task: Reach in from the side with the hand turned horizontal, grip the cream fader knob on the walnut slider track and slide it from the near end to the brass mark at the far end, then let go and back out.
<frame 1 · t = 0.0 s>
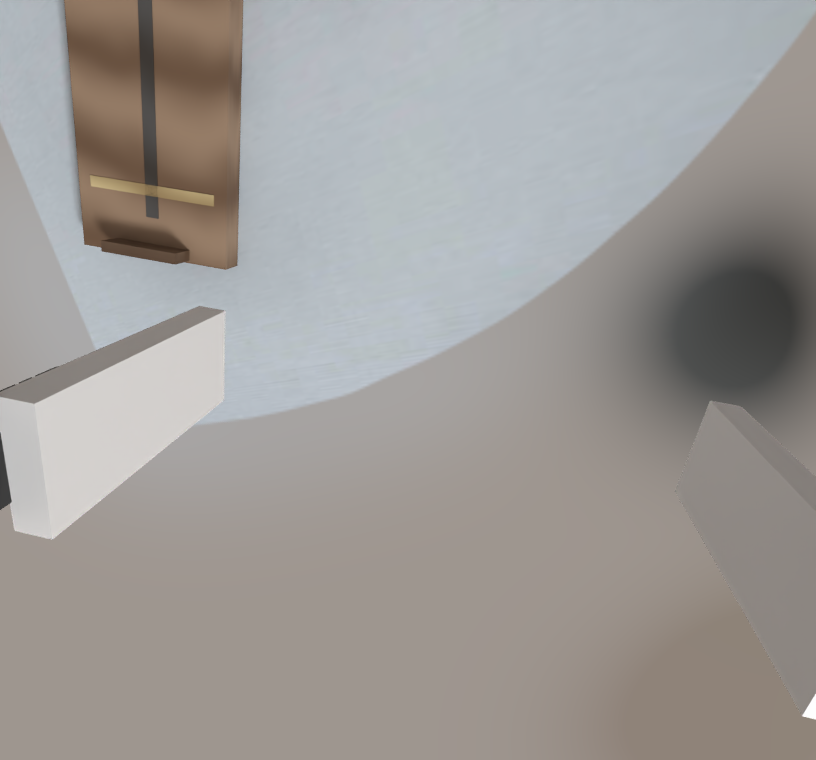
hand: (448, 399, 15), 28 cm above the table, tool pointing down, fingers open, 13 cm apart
fader track: (163, 60, 39), on the table
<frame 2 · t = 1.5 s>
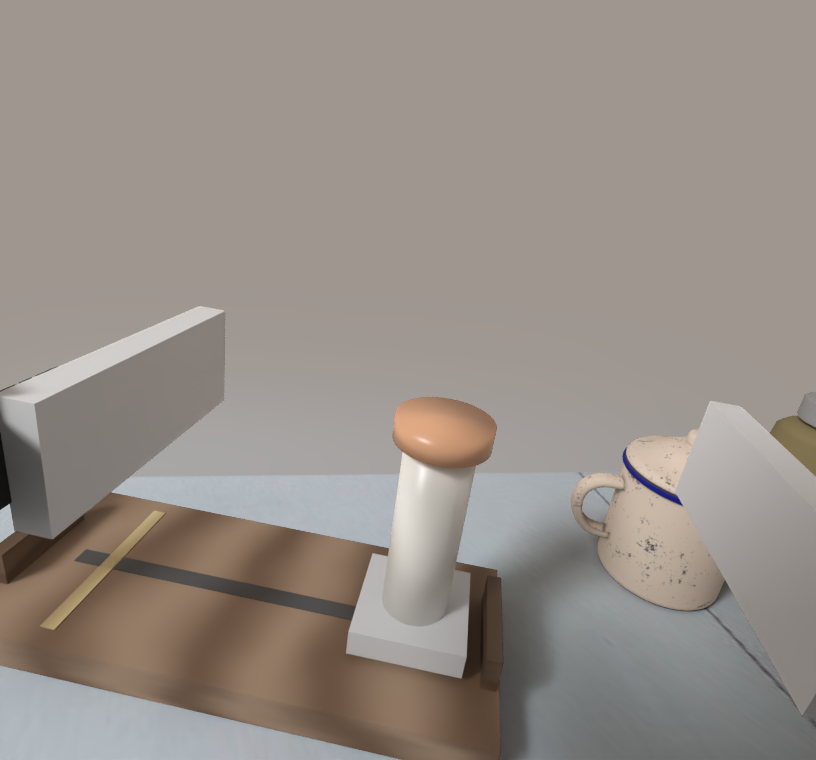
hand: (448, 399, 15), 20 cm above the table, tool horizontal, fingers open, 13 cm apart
fader: (427, 528, 28), point 9 cm above the table, slide at -9.0 cm
fader track: (256, 618, 32), on the table
teacup with lid: (634, 567, 41), on the table
squeeze bottle: (765, 569, 42), on the table
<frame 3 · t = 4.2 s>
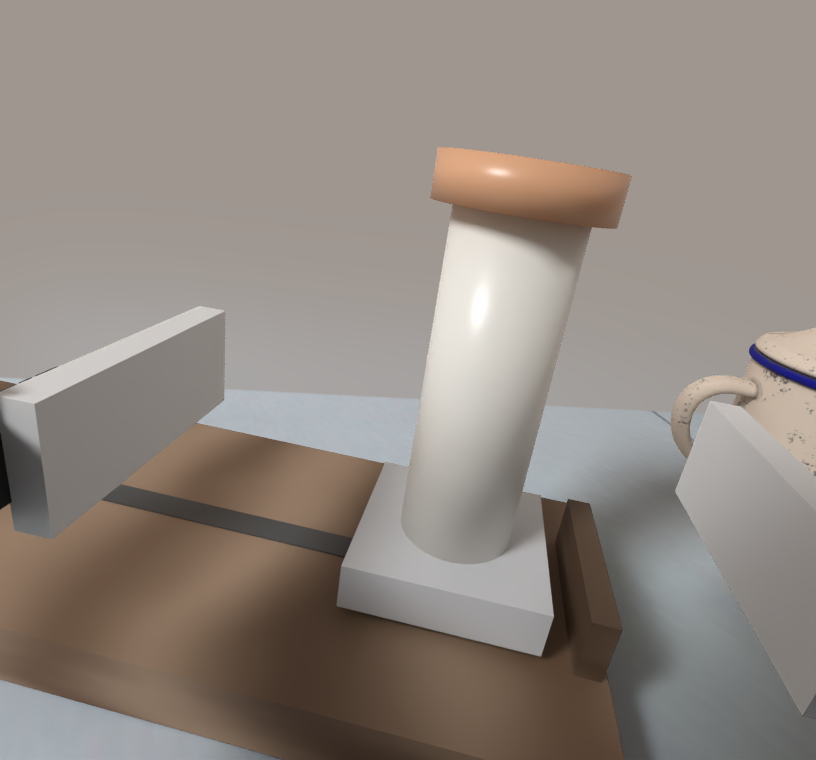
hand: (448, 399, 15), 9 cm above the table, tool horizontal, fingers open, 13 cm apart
fader: (483, 391, 16), point 9 cm above the table, slide at -9.0 cm
fader track: (199, 557, 20), on the table
teacup with lid: (756, 520, 28), on the table
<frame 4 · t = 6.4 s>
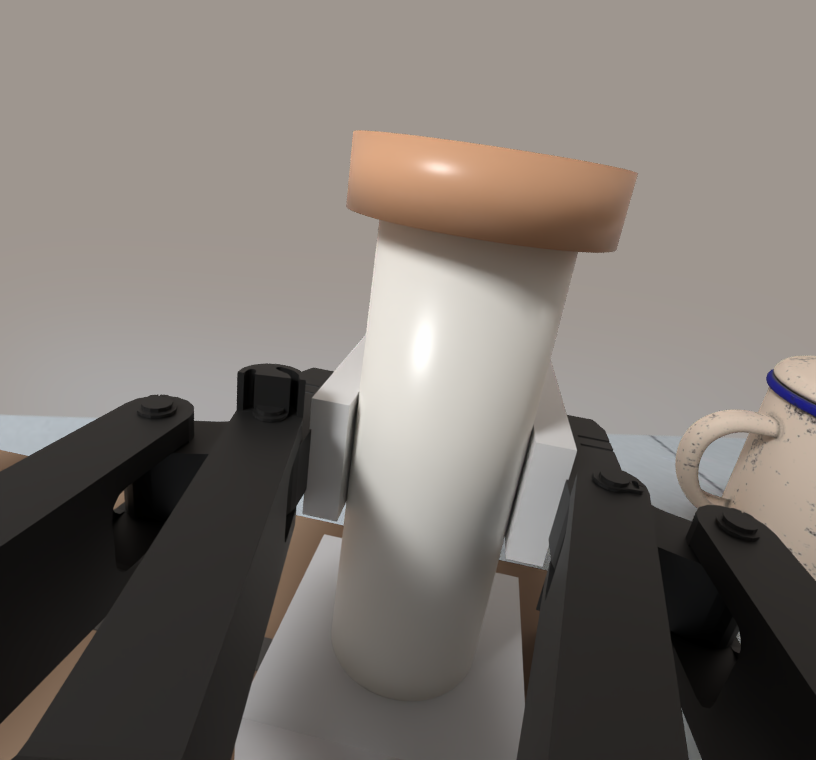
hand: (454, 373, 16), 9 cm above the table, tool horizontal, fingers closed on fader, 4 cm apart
fader: (434, 468, 12), point 9 cm above the table, slide at -9.0 cm, touching gripper
fader track: (85, 661, 16), on the table
teacup with lid: (774, 574, 24), on the table
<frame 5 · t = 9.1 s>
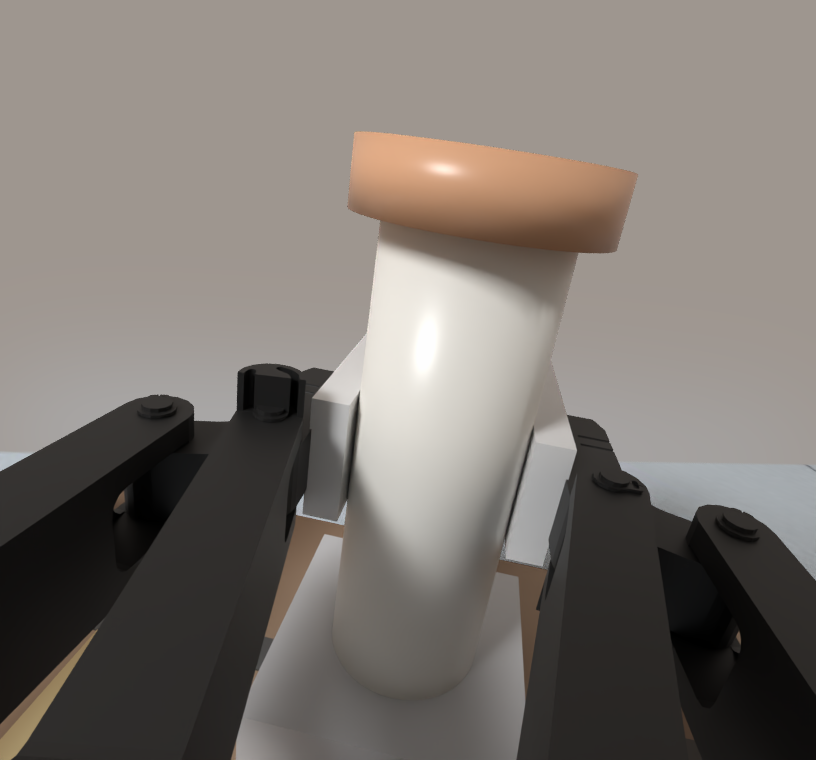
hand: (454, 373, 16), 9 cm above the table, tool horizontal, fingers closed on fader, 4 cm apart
fader: (434, 468, 12), point 9 cm above the table, slide at 1.3 cm, touching gripper
fader track: (430, 748, 15), on the table
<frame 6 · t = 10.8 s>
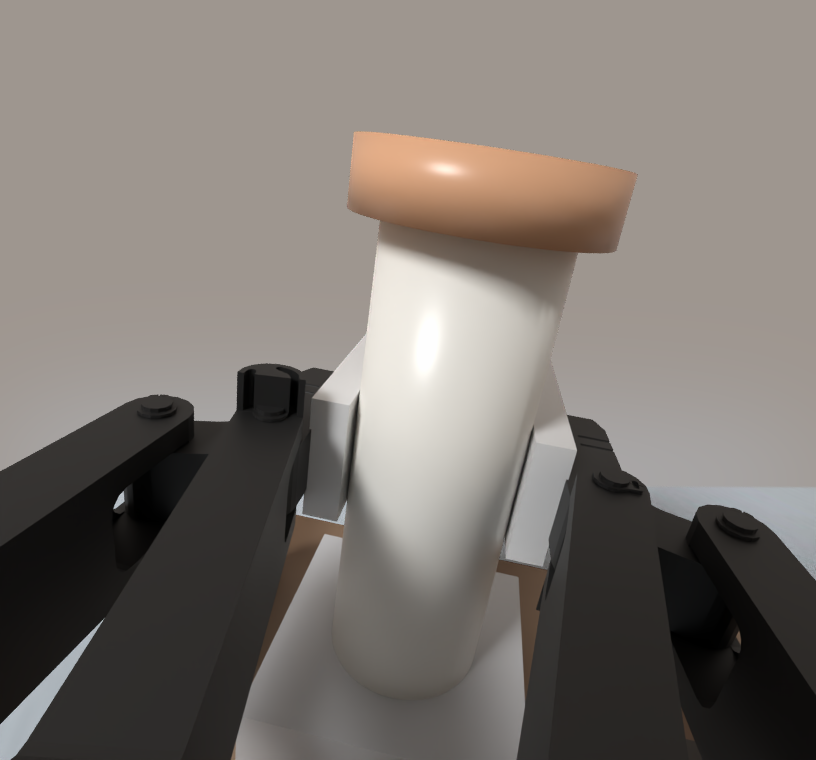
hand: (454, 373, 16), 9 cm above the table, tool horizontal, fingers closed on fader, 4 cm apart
fader: (434, 468, 12), point 9 cm above the table, slide at 8.6 cm, touching gripper
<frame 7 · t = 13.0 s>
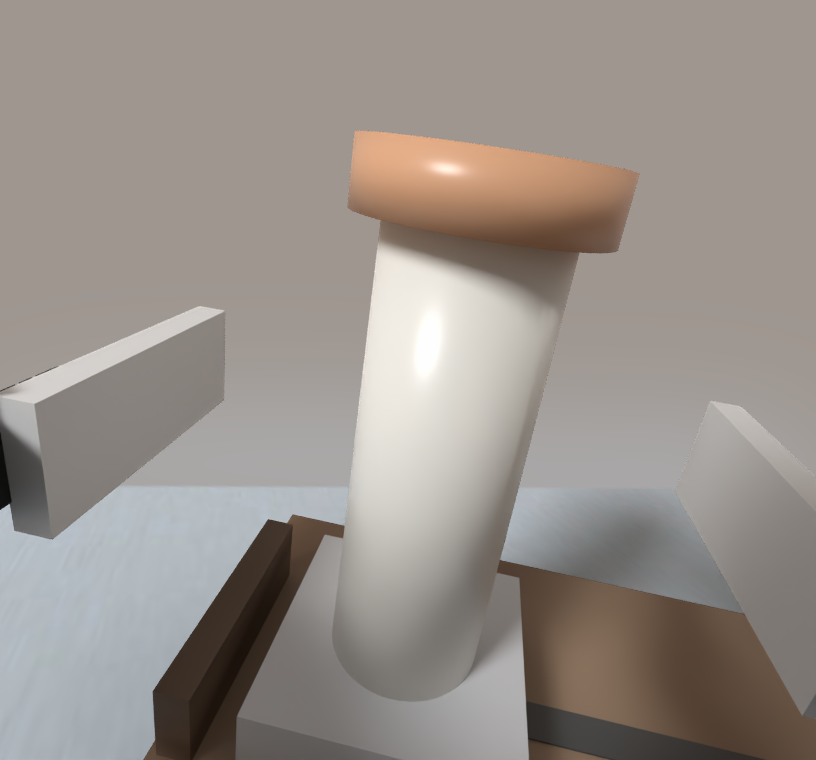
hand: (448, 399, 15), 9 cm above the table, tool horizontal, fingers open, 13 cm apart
fader: (435, 468, 12), point 9 cm above the table, slide at 9.0 cm
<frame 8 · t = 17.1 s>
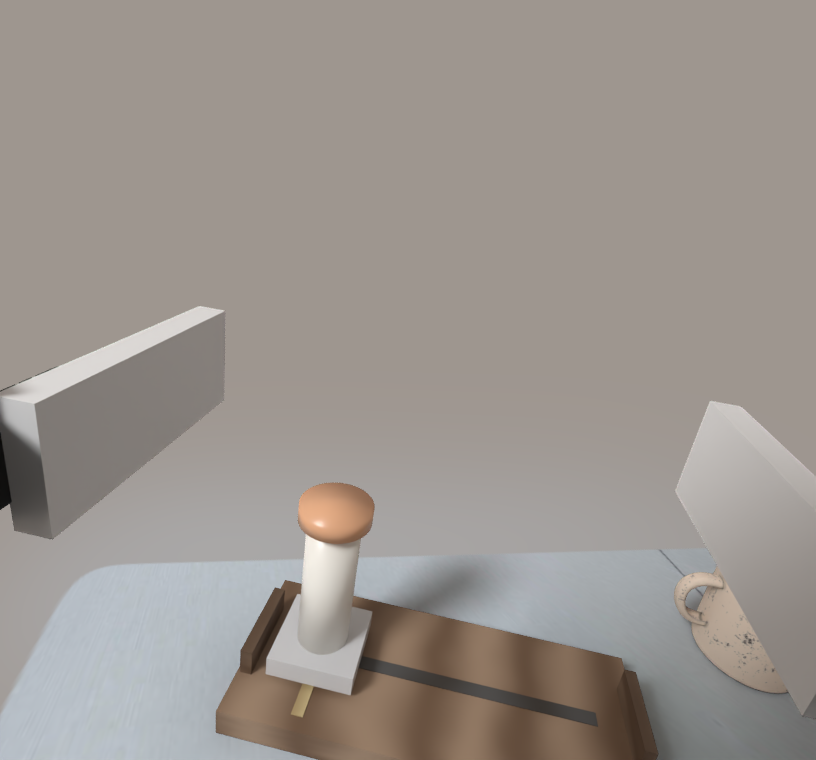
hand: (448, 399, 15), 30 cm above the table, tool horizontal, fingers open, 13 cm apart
fader: (328, 580, 37), point 9 cm above the table, slide at 9.0 cm
fader track: (436, 701, 39), on the table
teacup with lid: (724, 649, 48), on the table
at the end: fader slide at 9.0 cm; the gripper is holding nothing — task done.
